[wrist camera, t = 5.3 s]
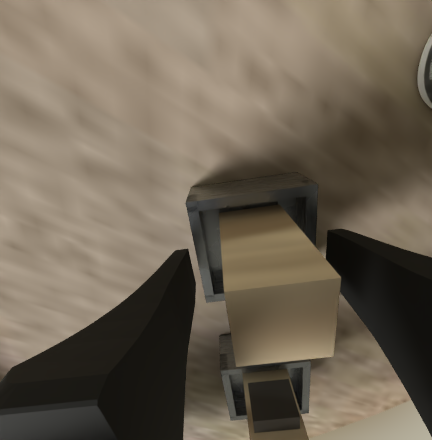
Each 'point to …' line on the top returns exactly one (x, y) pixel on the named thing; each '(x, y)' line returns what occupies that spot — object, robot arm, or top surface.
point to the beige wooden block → (276, 288)
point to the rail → (213, 273)
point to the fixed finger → (272, 406)
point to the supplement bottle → (426, 73)
